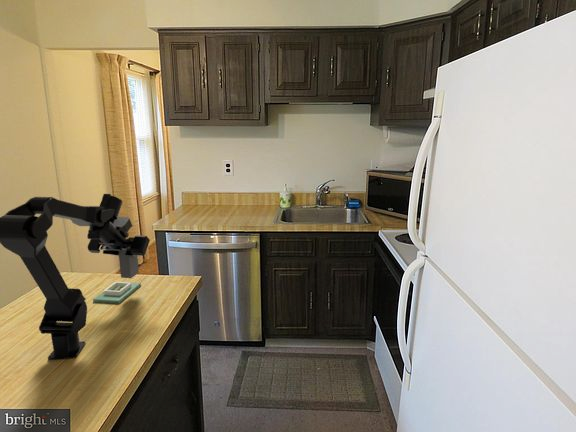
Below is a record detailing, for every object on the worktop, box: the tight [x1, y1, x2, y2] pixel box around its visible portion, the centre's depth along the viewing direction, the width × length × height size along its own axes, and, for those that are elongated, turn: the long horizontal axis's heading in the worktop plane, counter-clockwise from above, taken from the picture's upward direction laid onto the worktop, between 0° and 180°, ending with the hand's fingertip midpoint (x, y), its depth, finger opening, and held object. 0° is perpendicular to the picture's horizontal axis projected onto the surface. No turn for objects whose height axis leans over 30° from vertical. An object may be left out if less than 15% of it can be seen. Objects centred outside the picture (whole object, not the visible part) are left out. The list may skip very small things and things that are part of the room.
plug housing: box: [118, 249, 140, 279], centre depth 120 cm, size 5×4×12 cm
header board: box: [92, 281, 142, 304], centre depth 122 cm, size 14×9×2 cm, turn 174°
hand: (130, 255), depth 121 cm, fingers closed on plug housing, 3 cm apart
